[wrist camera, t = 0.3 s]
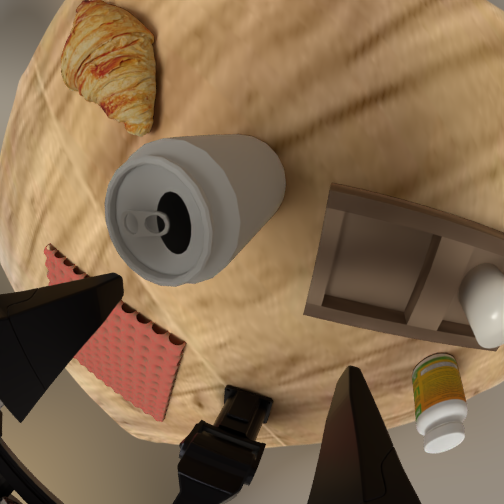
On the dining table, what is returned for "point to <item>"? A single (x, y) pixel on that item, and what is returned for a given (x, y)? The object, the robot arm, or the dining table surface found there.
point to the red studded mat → (126, 352)
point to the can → (191, 204)
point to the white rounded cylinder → (484, 303)
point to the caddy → (397, 266)
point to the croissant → (112, 64)
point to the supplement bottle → (439, 403)
